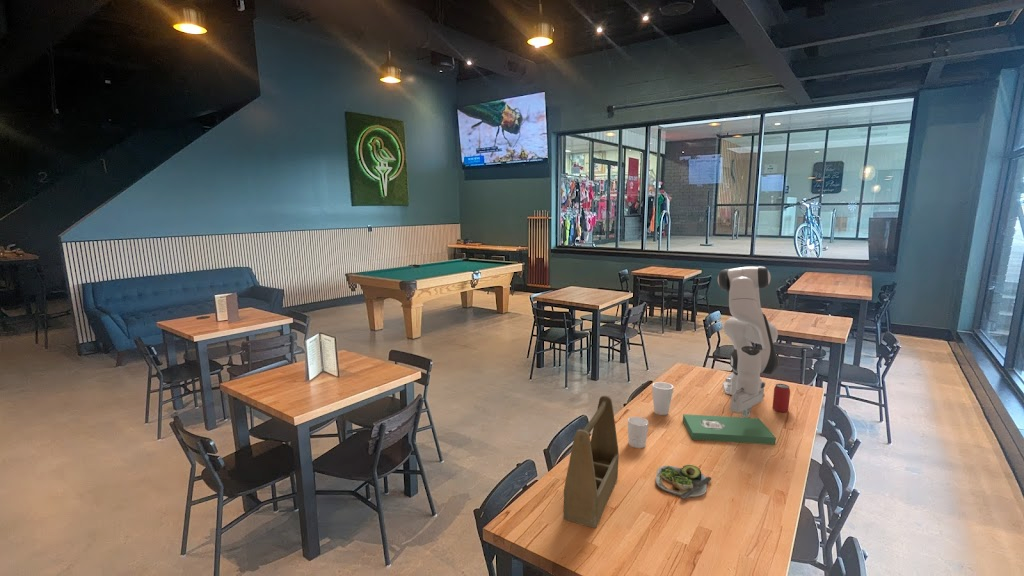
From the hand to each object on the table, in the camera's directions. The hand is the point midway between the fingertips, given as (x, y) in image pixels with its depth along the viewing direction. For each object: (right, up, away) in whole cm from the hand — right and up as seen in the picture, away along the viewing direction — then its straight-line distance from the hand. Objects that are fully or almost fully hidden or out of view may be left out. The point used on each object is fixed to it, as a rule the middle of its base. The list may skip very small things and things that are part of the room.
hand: (745, 416), depth 200 cm
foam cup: (-29, -4, +21) cm, 36 cm away
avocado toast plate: (-40, -14, -36) cm, 56 cm away
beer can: (+28, -3, +23) cm, 37 cm away
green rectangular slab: (-8, -7, +1) cm, 10 cm away
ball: (-13, -5, +2) cm, 14 cm away
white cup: (-48, -9, -9) cm, 50 cm away
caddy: (-72, -15, -45) cm, 86 cm away
